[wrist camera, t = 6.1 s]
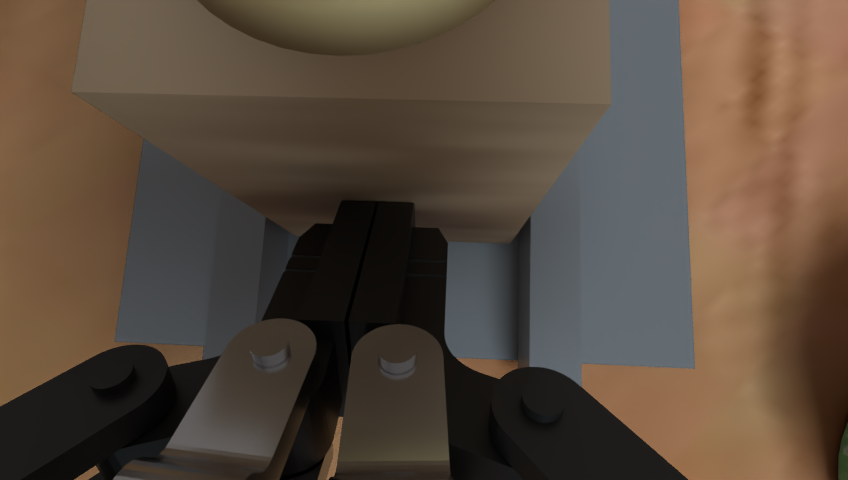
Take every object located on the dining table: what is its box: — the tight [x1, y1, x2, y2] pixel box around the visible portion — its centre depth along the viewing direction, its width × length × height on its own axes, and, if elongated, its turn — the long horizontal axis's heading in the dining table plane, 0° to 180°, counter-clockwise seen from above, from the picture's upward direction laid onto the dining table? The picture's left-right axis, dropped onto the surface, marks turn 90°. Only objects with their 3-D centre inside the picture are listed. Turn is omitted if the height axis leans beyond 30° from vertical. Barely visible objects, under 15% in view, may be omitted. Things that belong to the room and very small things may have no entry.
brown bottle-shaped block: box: [71, 0, 611, 244], centre depth 10 cm, size 6×6×11 cm
